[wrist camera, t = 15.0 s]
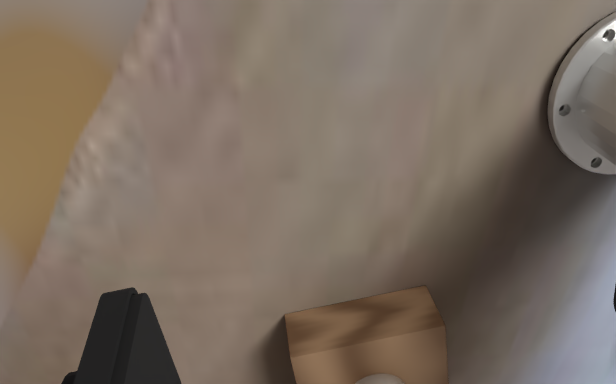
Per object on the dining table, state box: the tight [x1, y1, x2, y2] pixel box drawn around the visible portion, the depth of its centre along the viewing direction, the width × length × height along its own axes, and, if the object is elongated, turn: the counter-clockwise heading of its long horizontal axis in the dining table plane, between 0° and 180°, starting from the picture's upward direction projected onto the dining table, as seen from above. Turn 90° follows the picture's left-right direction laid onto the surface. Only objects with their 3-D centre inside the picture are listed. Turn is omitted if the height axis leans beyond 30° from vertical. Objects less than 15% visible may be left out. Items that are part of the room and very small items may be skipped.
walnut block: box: [285, 285, 449, 384], centre depth 48 cm, size 12×12×5 cm
